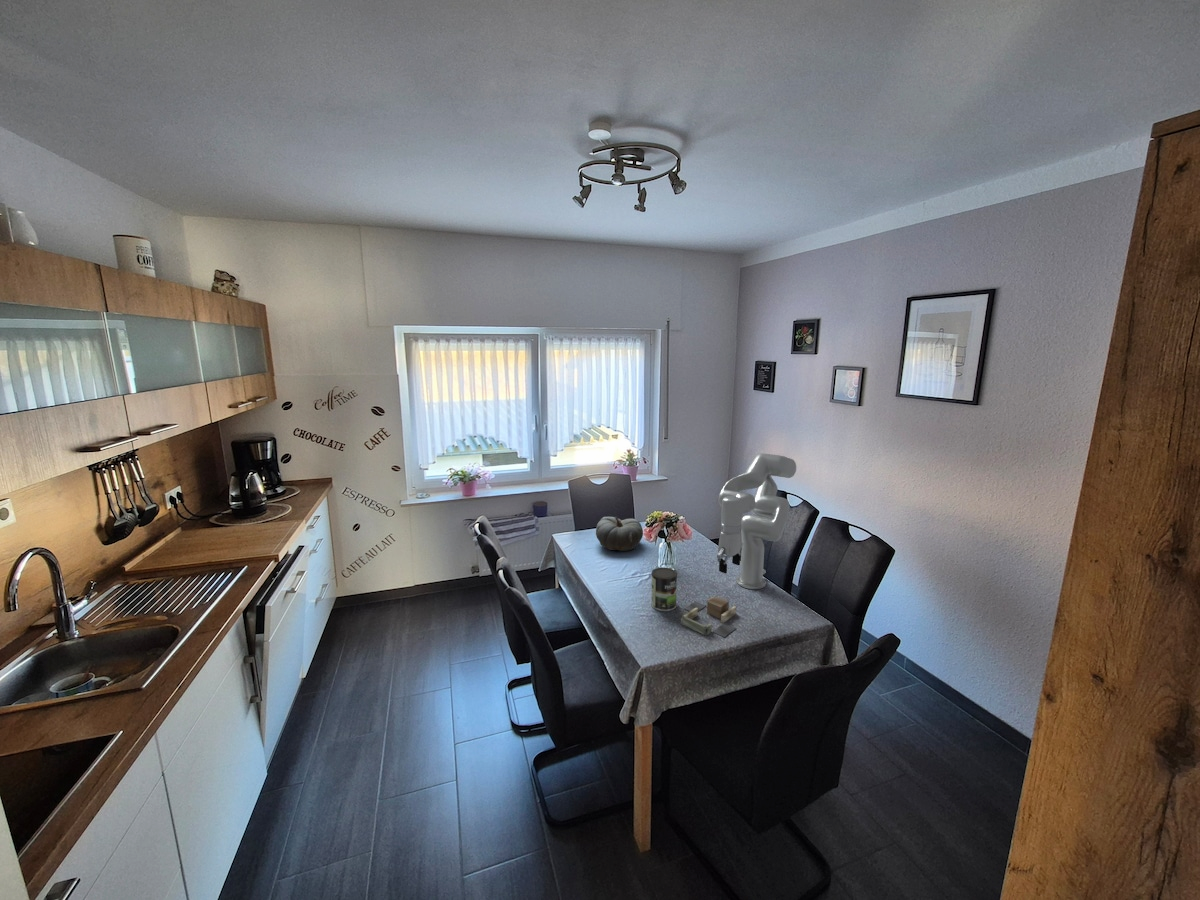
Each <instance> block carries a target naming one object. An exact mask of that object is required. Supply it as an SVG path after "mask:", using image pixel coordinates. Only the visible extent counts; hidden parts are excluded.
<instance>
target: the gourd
mask: <svg viewBox="0 0 1200 900" xmlns="http://www.w3.org/2000/svg"><path fill="white" fill-rule="evenodd" d="M643 535H644V528H643V527H642V524H641V522H640V521H639V520H637V519H635V518H625V519H620V518H618V516H603V517H602V518H600V520H599V521H598V523H597V524H596V528H595V537H596V538H597V540H598V542H599V544H600V545H602V547H603V548H604V549H607V550H609V551H615V550H617V551H619V552H626V551H631V550H632V549H634V548H636V547H637V546H638V545H639V544H640V543H641V540H642V539H643Z"/></svg>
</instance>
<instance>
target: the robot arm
mask: <svg viewBox="0 0 1200 900" xmlns="http://www.w3.org/2000/svg"><path fill="white" fill-rule="evenodd" d="M796 472H797V462H796V461H795V460H794V459H792V458H790V457H788V456H784V455H779V454H770V453H759V454H756V455H755V456H754V457H753V459H752V460H751V462H750V463H749V466H748V467H747V468H746V470H745V471H744V473H742V474H739V475H737V476H735V477H732V478H731V479H729V480H728V481H727V482H725V484H724V485H723V487H722V489H721V490H720V492H719V494H718V498H717V499H718V502H717V503H718V505H719V506H720V507H721V523H720V524H721V526H720V534H719V537H718V538H719V540H718V546H717V554H716V558H717V561H718V571H719V572H720V573H722V574H727V573H728V563H727V562H728V560H729V559H730V558H731V559H732V560H731V561H732V564H733V565H736V566H740V573H739V575H738V576H737V577H736V583H737V584H738V585H739V586H740V587H742V588H745V589H749V590H760V589H763V588H765V587H766V586H767V581H766V580H765V578H763V576H764V574H766V569H764V562H765V561H764V559H765V557H764V556H765V545H764V542H763V540H766V541H770V542H778V541H780V540H781V538H782V536H783V534H784V533H783V532H784V529H785V526H786V523H787V521H788V518H789V514H790V510H791V509H790V508H791V506H790V502H789V501H788V499H787V498H785V497H781V496H777V493H778V490H779V489H778V485H777V484H776V482H775V480H774V478H772V476H773V477H777V478H778V477H779V478H786V479H790V478H793V477H794V476H795V474H796ZM753 489H756V491H755V492H754V495H752V494H751V493H747V492H743V491H747V490H753ZM749 512H752V513H753V514H751V513H749ZM746 513H748V514H746ZM742 514H745V515H743V516H742Z"/></svg>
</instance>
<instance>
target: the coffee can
mask: <svg viewBox="0 0 1200 900" xmlns="http://www.w3.org/2000/svg"><path fill="white" fill-rule="evenodd" d="M677 576H678V572H677V571H676V570H675V569H672V568H670V567H656V568H654V569H652V571H651V607H652V608H653V609H654V610H656V611H659V612H660V611H661V612H671V611H673V610H675V609H676V608H677V585H678V584H677V582H678V580H677V579H678V577H677Z"/></svg>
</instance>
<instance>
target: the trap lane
mask: <svg viewBox="0 0 1200 900" xmlns="http://www.w3.org/2000/svg"><path fill="white" fill-rule="evenodd" d="M714 597H715V596H711V597H710V598H708V599H707V600H706V601H707V602H708V601H709V600H711V599H712V598H714ZM707 602H706V603H707ZM705 608H707V604H706V605H705V604H703V603H701V602H699V601H696V600H695V601H694V602H692V603H690V604H689V605H687V606H686V607H684V609H683V610H685V611H687V612H686V613H685V614H684V615H682V616H681V619H680V620H681V623H680V624H681V625H682V626H685V627H687V628H689V629H691V630H693V631H695V632H697V633H700V634H701V635H704V636H708V635H709V634H710V633H713V634H715V635H718V636H719V637H722V638H726V637H728V636H729V635H730V634H731V633H733V632H734V631H735V630H737V627H734V626H732V625H730V624H727V623H725V622H727V621H728V620H729V619H731V618H732V617H734V616H735V615H736V614H737V606H735V605H733V606H732V607H730V608H729V610H727V611H726V612H725V613H723V614H722V615H721V619H720V623H721V625H719V626H718V627H717V628H715V629H714V630H713V631H712V629H713V627H712V623H710V622H709V623H708V624H706V625H705V624H702V623H700V622H698V621H696V620H693V619H695V618H697V617H698V615H699V612H700V611H701V610H703V609H705Z"/></svg>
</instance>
